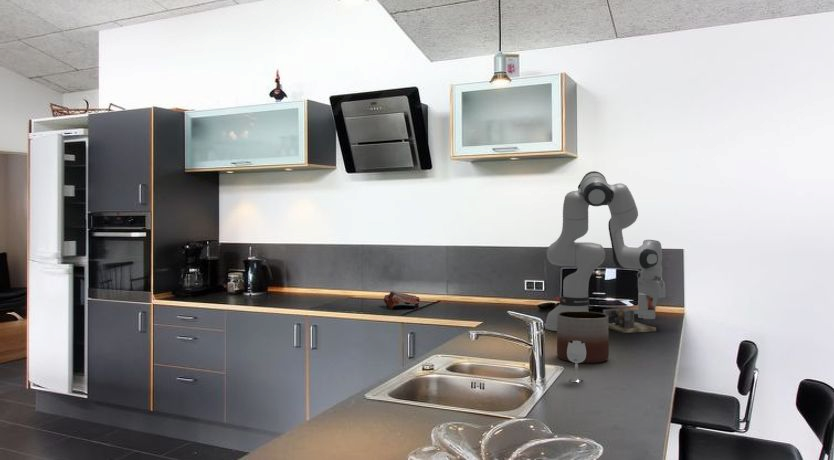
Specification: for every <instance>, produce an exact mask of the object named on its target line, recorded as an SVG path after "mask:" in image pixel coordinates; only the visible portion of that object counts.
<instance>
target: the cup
mask: <svg viewBox="0 0 834 460" xmlns="http://www.w3.org/2000/svg"><path fill="white" fill-rule="evenodd" d="M637 296H638V297H637V298H638V299H637V300H638V301H637V303H638V304H637V307H638V308H637V309H648V304H646V298H645V294H642V293H639V292H638V293H637ZM651 297H652V296H651ZM637 317H638V319H641V318H643V319H642V320H655V319H656V309H655V310H653V313H648V314H637Z"/></svg>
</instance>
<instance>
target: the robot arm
mask: <svg viewBox="0 0 834 460" xmlns="http://www.w3.org/2000/svg"><path fill="white" fill-rule="evenodd" d="M589 206H592V207H602V206H607V207H608V209H609V213H610V219H608V224H607V225H608V234H609V240H610V245H611V250H612V261H613V263H614V265H615V267H617V268H618V269H621V270H622V269H624V270H625V269H633V270H634V269H635V270H640V271H639V272H637V273H636V277H637V291H638V293H642V294H645V298H646V304H648V297H651V296H652V299H653V302H652V306H655V307H657V306H658V305H657V304H658V301H659V299H664V298H666V293H667V291H666V283H665V281H664V280H663V267H662V261H663V250H662V249H663V248H662V243H661V242H660V241H659V240H655V239H644V240H643V241H642V244H641V245H640V246H638V247H629V246H627V245H625V243H624V242H625V241H624V236H623V230H624V229H627V228H629V227H630V226H632V225H633V224H634V223H635V222H636V221H637V220H638V218H639V217H638V216H639V211H638V207H637V204H636V202H635V199H634V196H633V195H632V192H631V191H630V189H629V187H628V186H627V185H626V184H624V183H622V182H621V183H620V182H618V183H614V184H609V183H608V182H607V178H606V177H605V176H604V175H603V174H602V173H601V172H599V171H590V172H589V171H588V172H587V173H586V174H585V175H584V176H583V177H582V179H581V181H580V183H579V184H578V186H577V190H571V191H569V192H567V193H566V195H565V196H564V201H563V206H562V229H561V233H560V235H559V236H558V238H557V239H556V240H555V241H554V242H553V243H551V244H550V245H549V246H548V248H547V250H546V259H547V260H548V262H549V263H550V264H551V265H555V266H561V267H576V268H577V269H576V271H574V272H572V273H570V274H568V275H567V276H565V277H564V279H563V284H562V289H563V291H562V295H563V296H561V297H559V296H556V297H555V301H556V302H559V304H558V305H557V306H556V307H554V309H552V310H551V311H549V312H548V313H547V316H546V320H545V321H546V322H545V323H543V324H544V325H545V330H549V331H552V332H553V331H554V332H557V315H558V313H560V312H567V311H588V312H590V311H589V308H590V296H589V284H590V283H589V282H590V278H591V277H592V275H593V273H594V271H595V270H596V269H597V268H598V267H599V266H600V265H602V264H603V263H604V261H605V260H606V259H605V258H606V251H605V248H604V247H603V245H602V244H601V243H600V244H599V243H595V242H585V241H584V242H581V241H580V242H578V241H577V240H579V239H580V238H582V237H585V235H586V234H587V233H588V231H589V208H590V207H589ZM576 241H577V242H576Z"/></svg>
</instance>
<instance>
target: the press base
mask: <svg viewBox="0 0 834 460" xmlns="http://www.w3.org/2000/svg"><path fill="white" fill-rule="evenodd" d="M628 310H629V311H625V312H624V311H620V312H619V314H618V315H616V317H614V322H613V323H609V322H608V329H610V330H613V331H617V332H620V333H624V334H625V333H647V332H657V327H655V326H651V325H647V324H645V323H640V322H637V321H635V314H634V311H633V310H634V309H628Z"/></svg>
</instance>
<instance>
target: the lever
mask: <svg viewBox="0 0 834 460" xmlns="http://www.w3.org/2000/svg"><path fill="white" fill-rule="evenodd" d="M652 302H653V299H652V297H648V309H638V308H637V309H632V310H633V311H634V315H638V314H648V313H653V310H655V311H656V306H652ZM629 310H630V309H620V308H614V309H602V313H603V314H606V315H608V318H615V317H616V315H618V314H619V312H620V311H624V312H625V311H629Z"/></svg>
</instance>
